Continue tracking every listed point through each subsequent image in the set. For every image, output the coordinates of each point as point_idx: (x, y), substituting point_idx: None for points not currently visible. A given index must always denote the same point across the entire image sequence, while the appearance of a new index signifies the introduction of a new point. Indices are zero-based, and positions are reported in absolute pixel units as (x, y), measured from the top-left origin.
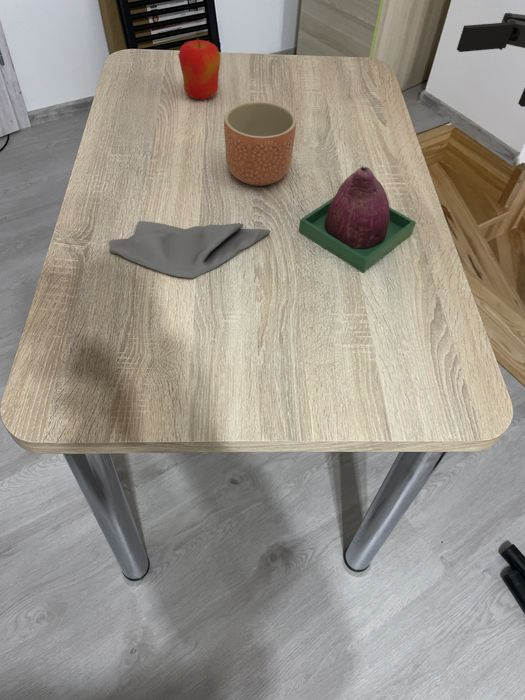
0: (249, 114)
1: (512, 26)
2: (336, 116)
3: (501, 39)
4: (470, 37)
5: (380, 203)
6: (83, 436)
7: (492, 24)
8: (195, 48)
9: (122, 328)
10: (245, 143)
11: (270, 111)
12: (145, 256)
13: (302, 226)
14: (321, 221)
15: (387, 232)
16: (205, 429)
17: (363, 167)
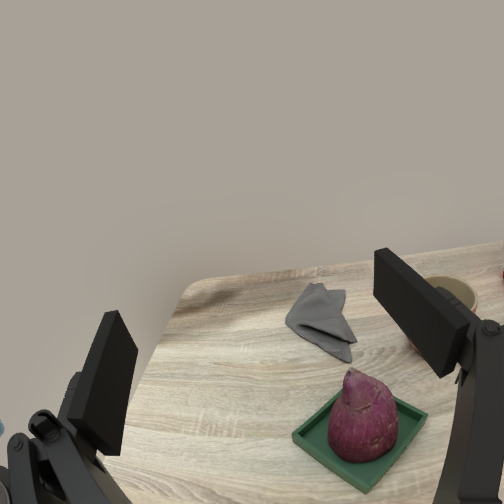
0: (464, 294)
1: (453, 331)
2: None
3: (432, 344)
4: (382, 277)
5: (346, 423)
6: (180, 301)
7: (424, 285)
8: None
9: (244, 302)
10: None
11: (473, 303)
12: (303, 297)
13: None
14: None
15: (361, 465)
16: (164, 339)
17: (349, 368)
